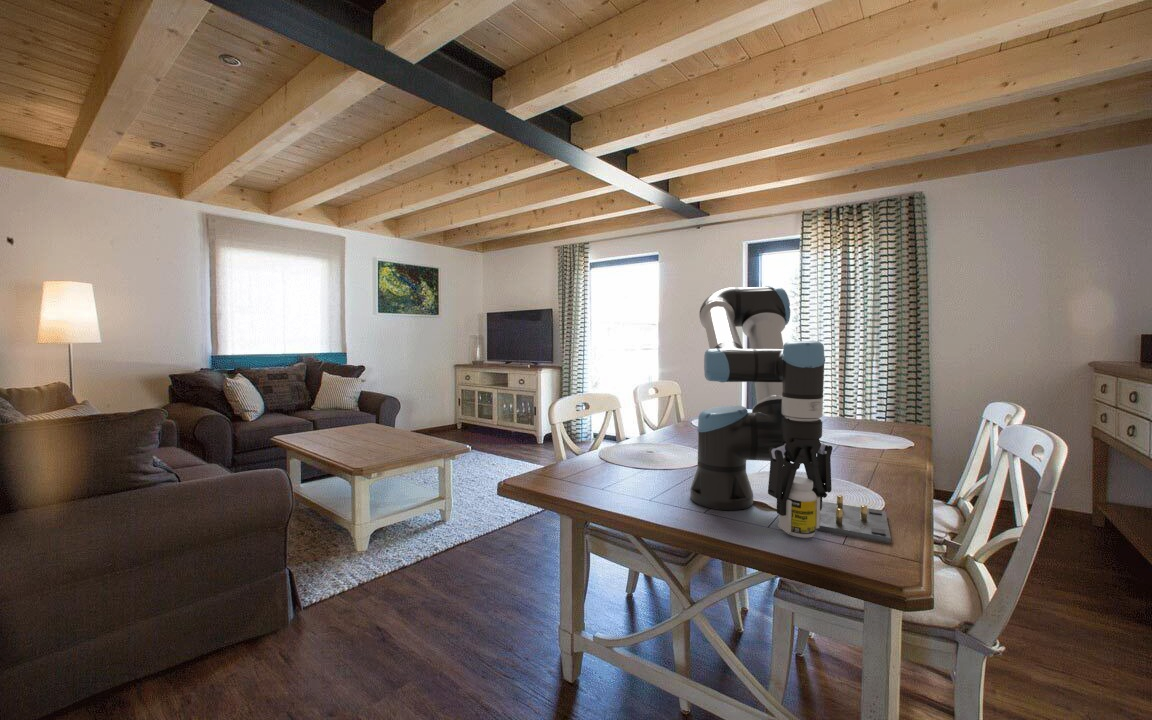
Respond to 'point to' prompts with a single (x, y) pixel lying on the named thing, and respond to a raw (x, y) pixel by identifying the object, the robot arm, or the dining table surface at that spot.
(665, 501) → the dining table surface
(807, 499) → the pill bottle
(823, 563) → the dining table surface
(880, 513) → the plate
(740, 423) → the robot arm
